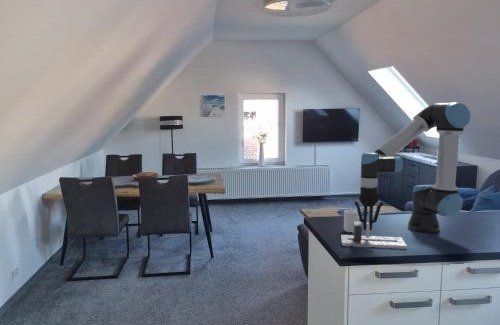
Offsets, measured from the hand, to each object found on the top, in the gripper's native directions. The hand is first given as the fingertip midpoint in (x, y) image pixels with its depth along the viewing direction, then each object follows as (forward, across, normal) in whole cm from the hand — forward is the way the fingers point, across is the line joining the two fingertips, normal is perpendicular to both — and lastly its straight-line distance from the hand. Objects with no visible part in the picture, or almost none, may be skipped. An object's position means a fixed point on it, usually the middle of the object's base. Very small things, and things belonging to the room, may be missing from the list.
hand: (367, 236), depth 193 cm
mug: (+3, +5, -18) cm, 19 cm away
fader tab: (+1, +5, 0) cm, 5 cm away
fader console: (+3, -2, 0) cm, 4 cm away
